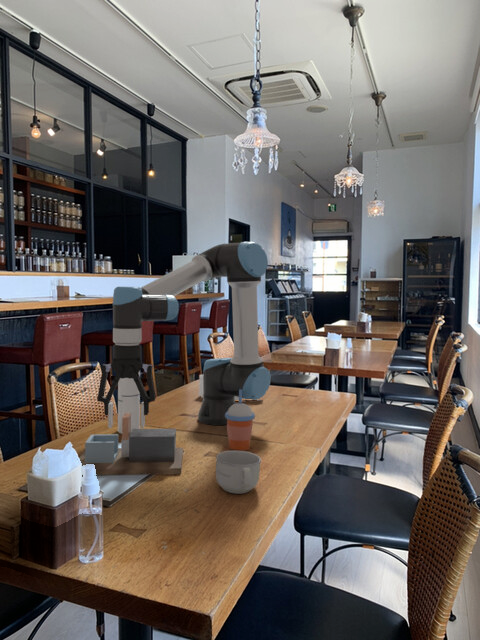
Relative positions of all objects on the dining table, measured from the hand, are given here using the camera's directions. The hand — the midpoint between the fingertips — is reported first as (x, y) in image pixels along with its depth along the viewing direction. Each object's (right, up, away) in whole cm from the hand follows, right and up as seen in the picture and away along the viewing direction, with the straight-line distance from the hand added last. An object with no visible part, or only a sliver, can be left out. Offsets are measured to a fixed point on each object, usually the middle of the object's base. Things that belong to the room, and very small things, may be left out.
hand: (126, 426), depth 125 cm
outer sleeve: (+7, -9, +1) cm, 11 cm away
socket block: (-7, -9, 0) cm, 11 cm away
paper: (+27, -7, +81) cm, 86 cm away
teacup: (+31, -12, -16) cm, 36 cm away
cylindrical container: (-7, -9, +30) cm, 32 cm away
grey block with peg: (+5, -8, +1) cm, 9 cm away
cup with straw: (+31, -10, +16) cm, 36 cm away
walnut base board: (+1, -10, +1) cm, 10 cm away
